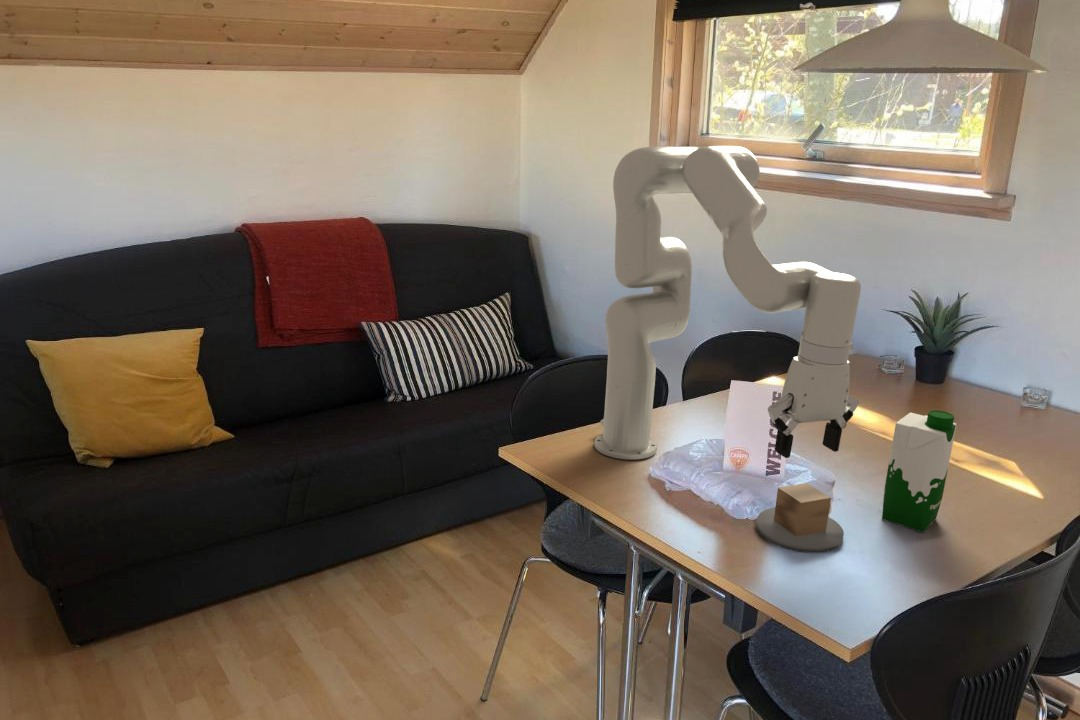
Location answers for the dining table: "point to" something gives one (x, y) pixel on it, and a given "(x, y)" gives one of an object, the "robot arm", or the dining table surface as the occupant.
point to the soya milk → (918, 469)
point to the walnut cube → (802, 509)
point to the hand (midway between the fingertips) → (806, 451)
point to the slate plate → (799, 543)
